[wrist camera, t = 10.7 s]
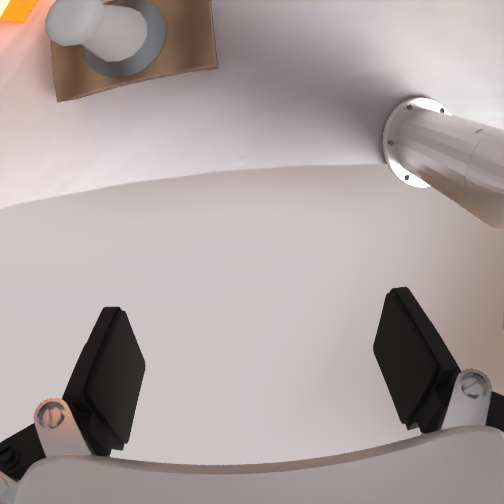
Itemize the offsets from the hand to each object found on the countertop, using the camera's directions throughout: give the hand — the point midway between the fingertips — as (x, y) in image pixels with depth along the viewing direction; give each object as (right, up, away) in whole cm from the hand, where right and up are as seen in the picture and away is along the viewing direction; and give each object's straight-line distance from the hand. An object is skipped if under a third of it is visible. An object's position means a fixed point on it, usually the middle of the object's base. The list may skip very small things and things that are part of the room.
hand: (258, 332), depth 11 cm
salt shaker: (-13, +24, +14) cm, 31 cm away
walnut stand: (-13, +27, +18) cm, 35 cm away
